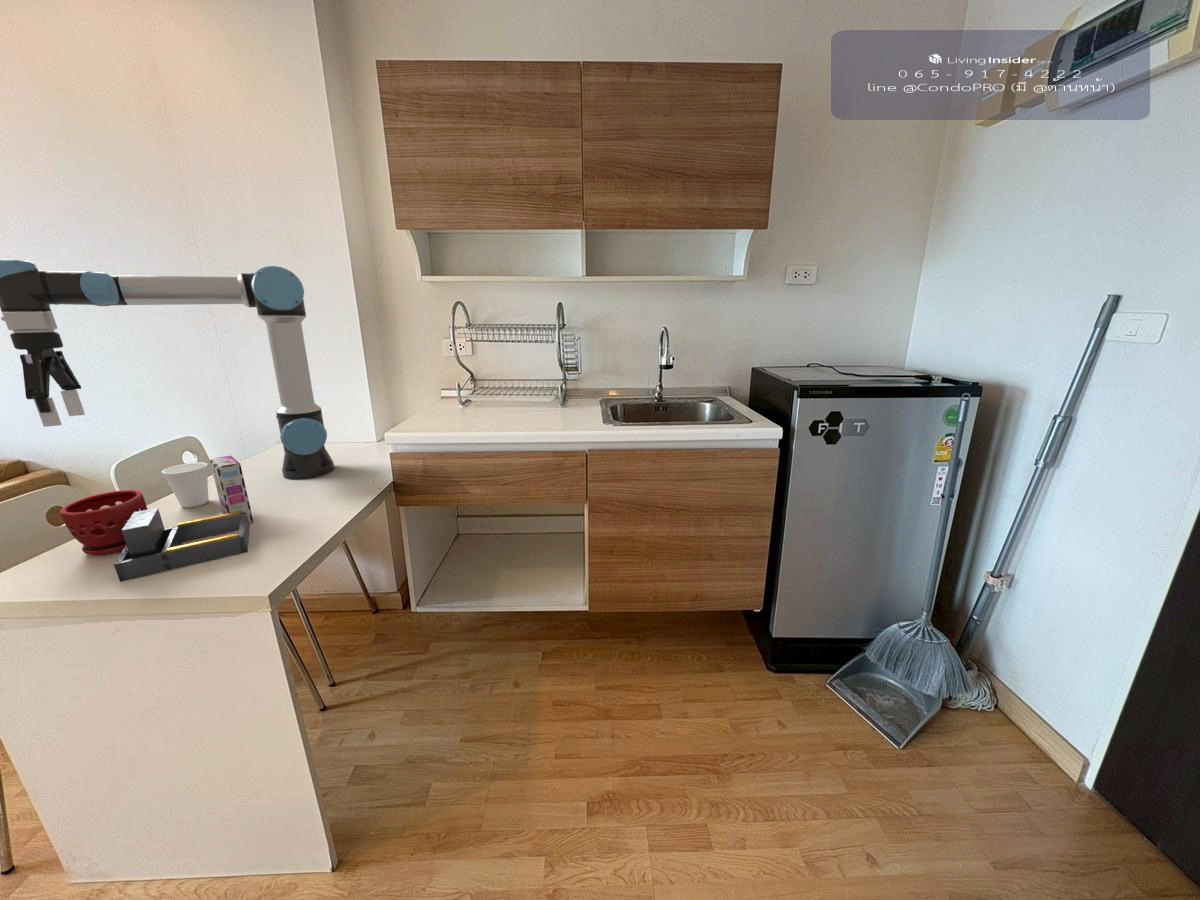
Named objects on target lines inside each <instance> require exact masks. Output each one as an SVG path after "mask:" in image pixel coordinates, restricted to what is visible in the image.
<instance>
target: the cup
mask: <svg viewBox="0 0 1200 900" xmlns="http://www.w3.org/2000/svg"><path fill="white" fill-rule="evenodd" d="M208 465H209V464H208V463H207V462H203V461H202V462H200V461H199V462H197V461H196V462H188V463H182V464H178V465H176V464H175V465H173V466H170V467H167V468H165V469H162V470H161V474H163V476H164V478H165V480H166V481H167V483H168V485H169V487H170V488H171V490H172V492H173V494H174V496H175V497H176V500H177V501H178V503H179V505H180V507H182V508H185V509H187V508H188V509H189V508H195V507H200V506H203V505H205V504H206V503H208V502H209V500H210V499H209V483H208V482H209V481H208Z"/></svg>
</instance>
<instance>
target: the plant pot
mask: <svg viewBox="0 0 1200 900" xmlns="http://www.w3.org/2000/svg"><path fill="white" fill-rule="evenodd" d="M117 502H121V503H118V504H117ZM104 506H106V507H104ZM107 506H108V507H107ZM102 507H104V508H102ZM143 510H148V506H147V503H146V500H145V497H144V495H143V494H142V492H141V491H140V490H136V489H127V490H126V489H125V490H115V491H109V492H104V493H103V492H102V493H99V494H96V495H91V496H88V497H85V498H82V499H81V498H80V499H78V500H76V501H73V502H70V503H69V504H67V505H65V506H63V507H62V508H61V509H60V511H59V514H60V516H61V519H62V521H63V523H64V525H65V527H66V528H67V529H68V531H69V532H70V534H71V536H73V538H74V539H75V540H76V541H77V542H79V543H80V544H81V545H82V548H81V551H82V553H83V554H86V555H89V556H95V557H102V556H110V555H115V554H121V552H122V551H123V549H124V547H125V546H126V542H125V539H124V536H123V533H122V529H123V527H124V526H125V525H126V523H127V522H128V520H129V519H130V517H131V516H132V514H133V513H134V512H138V511H143Z"/></svg>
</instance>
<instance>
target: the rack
mask: <svg viewBox="0 0 1200 900" xmlns="http://www.w3.org/2000/svg"><path fill="white" fill-rule="evenodd" d="M250 527H251V524H249V521H248V517H247V513H241V511H239V512H234V513H229V514H224V515H223V514H220V515H213V516H209V517H203V518H199V519H194V520H190V521H189V520H188V521H184V522H178V523H177V524H176V525H175V526H171V527H170V526H169V527H166V528H165V526H164V523H163V519H162V516H161V512H160V509H159V507H155V508H150V509H147V510H143V511H138V512H134V513H133V514H132V516H131V517H130V519H129V520H128V522H127V523H126V525H125V526H124V527H123V529H122V533H123V536H124V539H125V542H126V546H125V547H124V549H123V551H122V552H120V553H119V555H118V557H117V559H116V560H115V562H114V563H113V567H114V569H115V572H116V573H115V574H116V575H117V578H118V580H119V583H122V581H123V582H127V581H131V580H134V579H140V578H144V577H147V576H151V575H156V574H157V575H158V574H160V573H164V572H165V573H166V572H169V571H173V570H177V569H180V568H181V569H182V568H186V567H189V566H194V565H199V564H204V563H206V562H207V563H208V562H212V561H215V560H220V559H223V558H224V559H225V558H228V557H233V556H237V555H241V554H245V553H246V554H247V553H248V551H249V541H250V531H251V529H250ZM233 532H238V533H234V534H229V533H233ZM225 534H227V535H225ZM220 535H225V536H220ZM215 536H219V537H215ZM210 537H211V539H206V538H210ZM212 537H214V538H212ZM201 539H206V540H201ZM196 540H201V541H196ZM193 541H196V542H193ZM186 542H192V543H187V544H184V543H186ZM130 579H131V580H130ZM126 580H127V581H126Z"/></svg>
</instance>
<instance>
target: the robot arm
mask: <svg viewBox="0 0 1200 900" xmlns="http://www.w3.org/2000/svg"><path fill="white" fill-rule="evenodd" d="M304 296H305V289H304V286H303V283H302V281H301V280H300V278H299V277H298V276H297V275H296V274H295V273H294V272H293V271H291V270H289V269H288V268H285V267H282V266H275V265H267V266H264V267H261V268H259V269H258V270H257V271H255V272H251V273H239V274H238V275H237V276H194V275H193V276H192V275H191V276H190V275H189V276H185V275H184V276H183V275H181V276H180V275H177V276H176V275H175V276H174V275H170V276H169V275H168V276H167V275H166V276H165V275H115V274H114V275H113V274H112V275H111V274H109V273H107V272H102V271H101V272H100V271H92V270H87V271H80V270H79V271H77V270H76V271H71V270H69V271H68V270H58V271H57V270H55V271H54V270H42V269H39V268H38V267H37V265H36V263H35V262H33V261H30V260H19V259H17V260H16V259H1V258H0V312H1V315H2V316H1V317H0V319H1V321H2V322H5V325H6V327H7V330H9V331H12V332H11V333H10V334H9V336H10V339H11V343H12V345H13V347H14V348H15V349H16V350H18V351H19V350H25V351H26V352H27V354H20V355H19V358H20V361H21V365H22V373H23V382H24V390H25V398H26V399H27V400H33V402H34V404H35V406H36V409H37V412H38V414H39V415H38V416H39V418H40V420H41V422H42V426H43V427H45V428H46V427H56V426H62V425H63V424H62V421H61V419H60V416H59V413H58V410H57V408H56V405H55V402H54V399H53V397H50V385H51V384H50V378H52V379H53V380H54V381H55V383H56V384H57V385H58V386H59V387H60V388H61V391H60V394H61V396H62V397H61V398H62V399H63V400H62V401H63V403H64V406H65V408H66V410H67V412H66V413H67V414H68V416H69V417H74V416H75V417H77V416H84V415H86V413H85V411H84V407H83V404H82V401H81V398H80V396H79V392H78V390H81V389H82V386H81V384H80V382H79V381H78V379H77V377H76V376H75V374H74V372H73V371H72V369H71V367H70V366H69V363H68V362H67V360H66V358H65V355H64V353H63V351H62V350H55V349H61V348H63V347H64V344H63V340H62V338H61V335H60V333H58V331H56V330H57V329H58V326H57V322H56V320H55V317H54V313H53V312H52V308H51V305H55V306H56V305H68V306H69V305H72V306H73V305H74V306H75V305H82V306H84V305H85V306H97V307H110V306H154V305H155V306H156V305H157V306H158V305H159V306H160V305H161V306H165V305H167V306H168V305H169V306H170V305H171V306H172V305H244V306H245V307H247V308H256V311H257V316H258V318H259V319H261V320H262V321H264V323H265V324H266V325H265V326H266V330H267V337H268V341H269V346H270V351H271V352H270V353H271V357H272V362H273V363H272V364H273V368H274V373H275V379H276V384H277V390H278V395H279V402H280V406H279V408H278V407H277V409H276V410H275V414H276V415H275V417H276V420H277V424H278V428H279V434H280V435H279V436H280V437H279V438H280V439H279V440H280V442H281V444H282V446H283V451H284V457H283V462H282V467H281V468H282V469H281V473H282V477H283V478H285V479H287V480H289V479H290V480H302V479H311V478H315V477H319V476H324V475H326V474H328V473H331V472H333V471H334V469H335V464H334V460H333V459H332V457H331V455H330V454H329V452H328V450H327V449H326V446H325V444H326V442H327V439H328V432H327V429H326V427H325V423H324V419H323V413H322V407H321V406H319V405H318V404H316V403H315V397H314V393H313V392H314V391H313V386H312V381H311V380H312V379H311V374H310V367H309V362H308V361H309V360H308V356H307V351H306V350H307V349H306V344H305V338H304V333H303V325H302V322H303V321H304V320H305V319H306V318H307V312H306V307H305V302H304V301H305V300H304Z"/></svg>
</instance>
